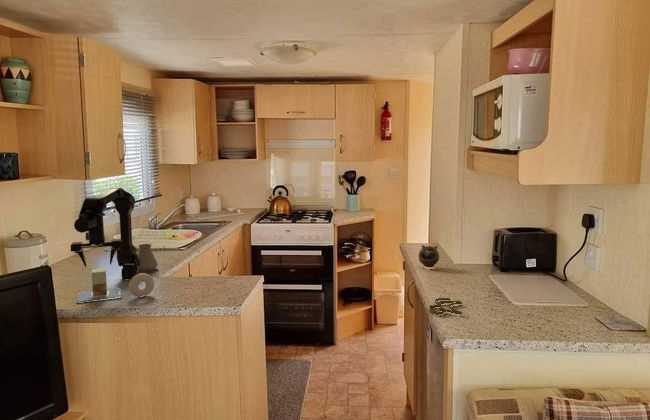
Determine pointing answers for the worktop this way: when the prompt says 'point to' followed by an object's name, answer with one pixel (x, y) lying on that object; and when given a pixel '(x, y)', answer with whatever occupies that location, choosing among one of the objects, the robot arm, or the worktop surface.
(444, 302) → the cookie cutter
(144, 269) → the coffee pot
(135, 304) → the worktop surface
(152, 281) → the donut
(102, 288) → the walnut cube
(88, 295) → the board
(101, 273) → the sage cube
